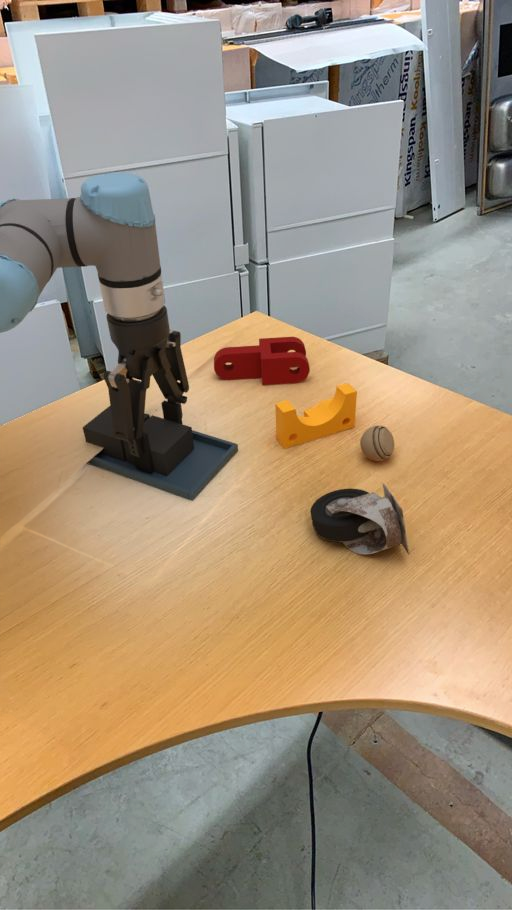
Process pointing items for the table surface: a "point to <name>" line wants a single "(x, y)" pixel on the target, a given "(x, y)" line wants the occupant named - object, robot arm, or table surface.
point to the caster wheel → (360, 520)
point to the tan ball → (377, 443)
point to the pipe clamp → (316, 418)
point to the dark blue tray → (179, 467)
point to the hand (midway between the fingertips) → (160, 454)
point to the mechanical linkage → (264, 361)
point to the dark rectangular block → (165, 444)
